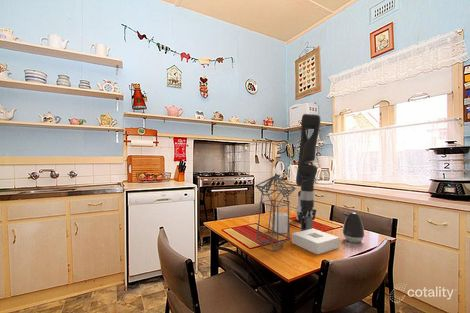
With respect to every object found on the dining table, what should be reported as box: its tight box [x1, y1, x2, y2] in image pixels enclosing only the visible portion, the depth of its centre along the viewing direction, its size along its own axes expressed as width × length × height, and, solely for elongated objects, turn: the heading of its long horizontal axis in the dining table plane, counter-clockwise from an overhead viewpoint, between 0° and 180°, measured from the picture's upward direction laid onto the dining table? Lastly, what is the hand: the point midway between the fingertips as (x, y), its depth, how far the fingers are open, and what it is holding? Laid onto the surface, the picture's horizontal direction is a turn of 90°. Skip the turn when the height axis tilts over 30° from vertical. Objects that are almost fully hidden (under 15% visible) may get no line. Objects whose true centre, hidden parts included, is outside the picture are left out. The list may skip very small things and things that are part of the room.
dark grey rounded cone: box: [342, 211, 365, 244], centre depth 123 cm, size 10×10×15 cm
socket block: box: [291, 228, 340, 255], centre depth 116 cm, size 16×16×5 cm
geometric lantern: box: [254, 175, 297, 252], centre depth 112 cm, size 16×16×35 cm
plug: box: [300, 216, 314, 231], centre depth 133 cm, size 4×4×10 cm
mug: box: [267, 211, 288, 235], centre depth 137 cm, size 12×8×10 cm
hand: (306, 228), depth 133 cm, fingers closed on plug, 4 cm apart
